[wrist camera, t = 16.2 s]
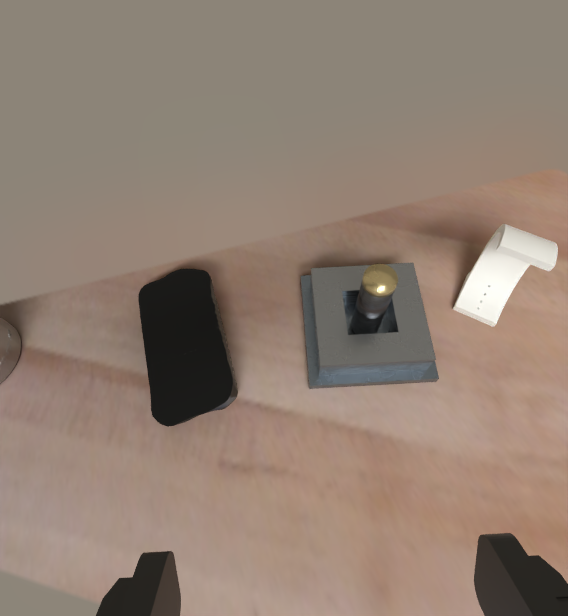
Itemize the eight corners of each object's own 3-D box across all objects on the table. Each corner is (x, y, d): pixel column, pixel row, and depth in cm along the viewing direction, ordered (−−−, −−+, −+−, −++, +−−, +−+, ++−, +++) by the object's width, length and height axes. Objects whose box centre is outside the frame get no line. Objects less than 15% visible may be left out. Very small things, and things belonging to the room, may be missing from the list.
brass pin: (353, 338, 44) (366, 294, 35) (349, 312, 45) (360, 264, 37) (381, 336, 44) (401, 291, 35) (376, 311, 45) (394, 262, 37)
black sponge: (244, 411, 42) (239, 401, 38) (160, 434, 41) (149, 426, 38) (213, 279, 49) (207, 261, 46) (142, 296, 48) (131, 280, 45)
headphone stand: (452, 309, 46) (499, 244, 36) (469, 269, 49) (518, 197, 38) (493, 327, 45) (554, 266, 34) (508, 285, 47) (570, 216, 37)
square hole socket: (309, 388, 42) (310, 376, 39) (300, 280, 48) (301, 261, 45) (436, 381, 42) (448, 368, 39) (411, 274, 48) (420, 254, 45)
